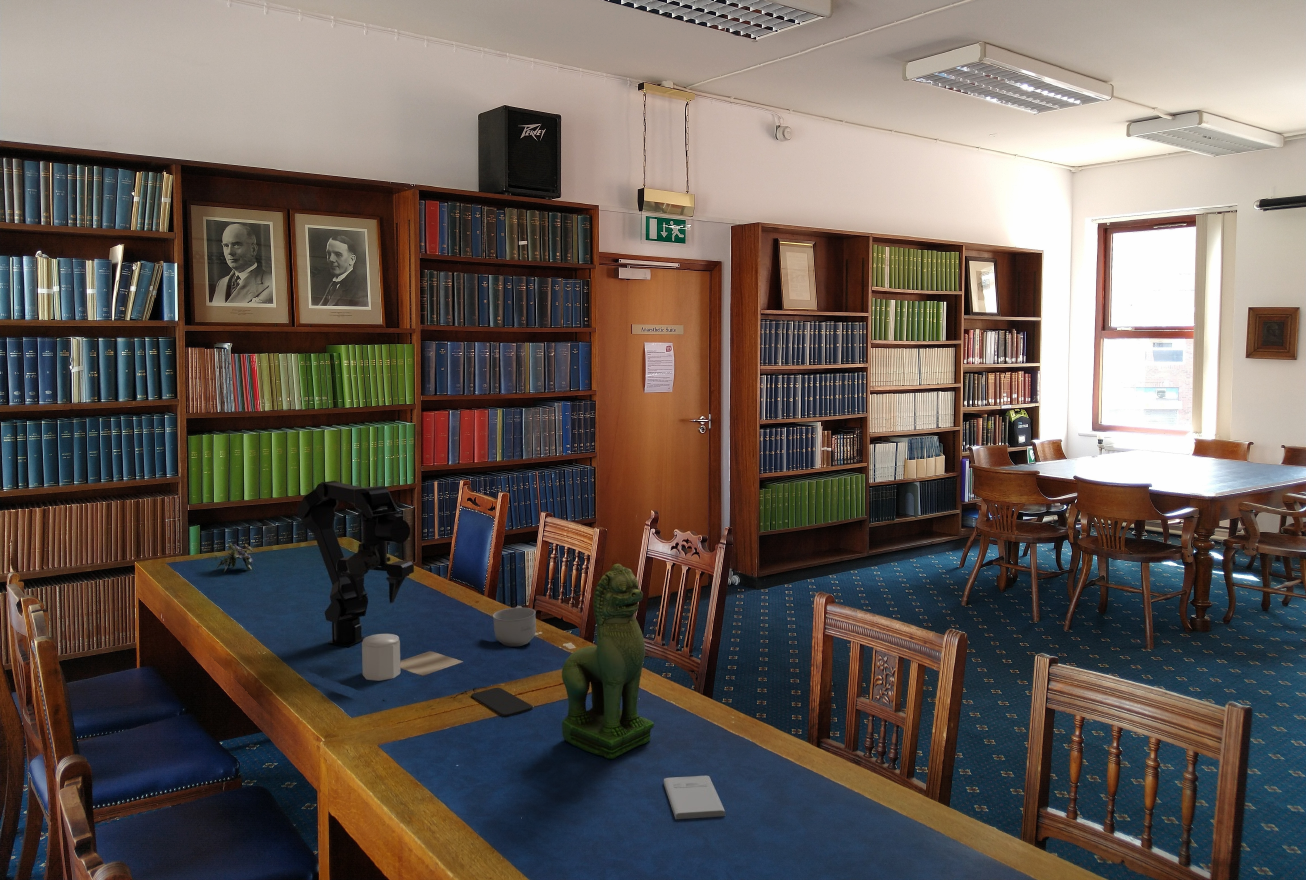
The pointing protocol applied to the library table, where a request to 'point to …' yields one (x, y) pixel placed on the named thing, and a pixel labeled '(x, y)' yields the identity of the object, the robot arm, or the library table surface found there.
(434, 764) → the library table surface
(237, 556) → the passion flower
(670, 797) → the external hard drive
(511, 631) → the teacup
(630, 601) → the lion statue
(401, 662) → the cork pad
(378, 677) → the white faceted jar
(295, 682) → the library table surface
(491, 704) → the phone
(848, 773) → the library table surface
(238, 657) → the library table surface
